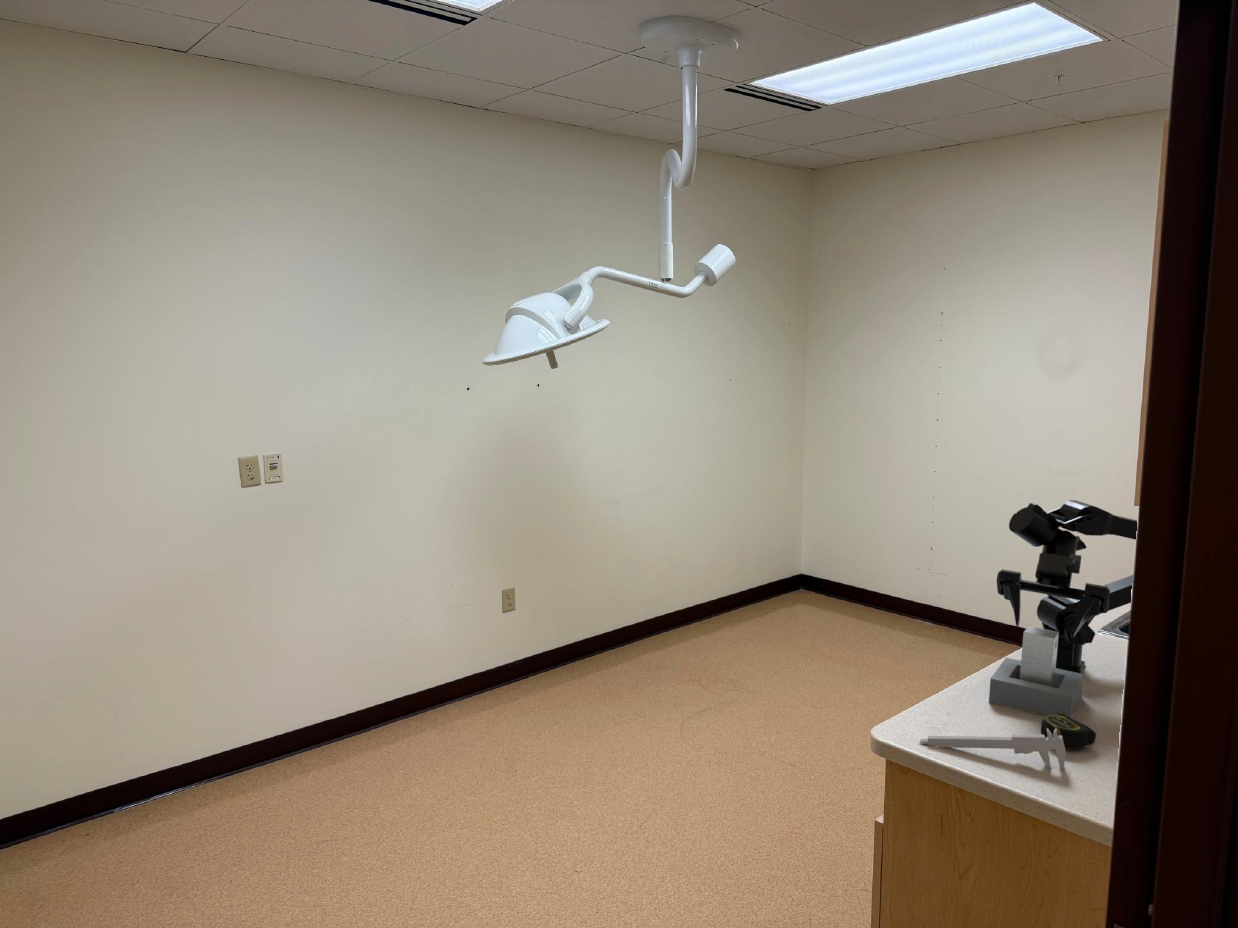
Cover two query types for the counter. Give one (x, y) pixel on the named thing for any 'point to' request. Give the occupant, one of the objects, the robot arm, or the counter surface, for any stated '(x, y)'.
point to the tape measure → (1068, 731)
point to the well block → (1035, 691)
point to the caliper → (1006, 744)
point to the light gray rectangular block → (1039, 656)
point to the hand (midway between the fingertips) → (1044, 630)
